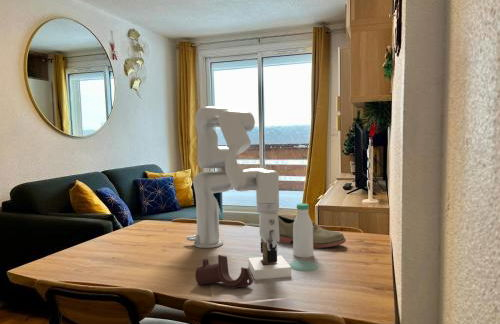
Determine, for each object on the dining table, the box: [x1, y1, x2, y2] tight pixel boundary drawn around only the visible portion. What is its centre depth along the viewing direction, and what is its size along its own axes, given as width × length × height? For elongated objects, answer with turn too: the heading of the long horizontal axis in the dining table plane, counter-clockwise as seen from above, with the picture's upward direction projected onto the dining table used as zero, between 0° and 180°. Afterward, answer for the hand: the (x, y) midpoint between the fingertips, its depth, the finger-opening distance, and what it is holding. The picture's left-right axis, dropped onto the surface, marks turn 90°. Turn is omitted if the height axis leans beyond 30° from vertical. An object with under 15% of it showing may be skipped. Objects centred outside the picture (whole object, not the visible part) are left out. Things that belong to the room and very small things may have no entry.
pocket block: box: [247, 255, 292, 280], centre depth 119 cm, size 12×12×4 cm
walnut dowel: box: [261, 239, 275, 266], centre depth 119 cm, size 4×4×11 cm
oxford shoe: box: [278, 215, 347, 249], centre depth 151 cm, size 11×32×12 cm, turn 65°
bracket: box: [194, 254, 254, 289], centre depth 109 cm, size 6×17×10 cm, turn 78°
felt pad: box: [289, 260, 319, 272], centre depth 124 cm, size 10×10×1 cm
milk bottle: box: [292, 203, 314, 259], centre depth 135 cm, size 8×8×20 cm
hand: (268, 257), depth 119 cm, fingers open, 9 cm apart
